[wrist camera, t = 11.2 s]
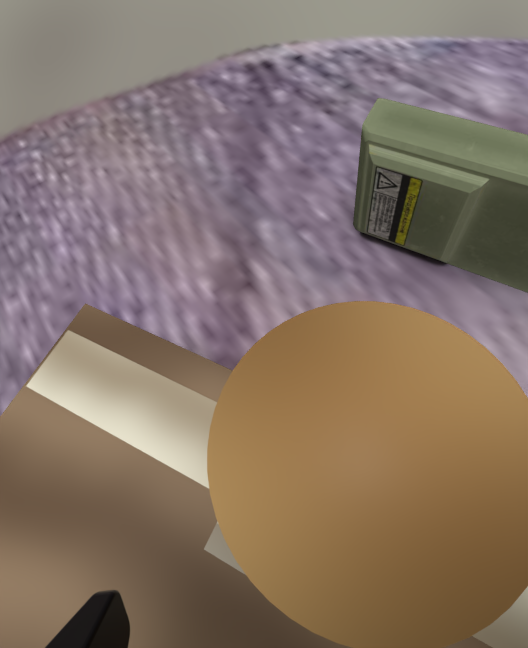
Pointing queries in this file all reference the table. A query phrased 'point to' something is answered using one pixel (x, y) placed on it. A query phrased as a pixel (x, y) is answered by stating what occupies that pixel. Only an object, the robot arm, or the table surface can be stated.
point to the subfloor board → (133, 502)
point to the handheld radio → (445, 189)
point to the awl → (374, 476)
